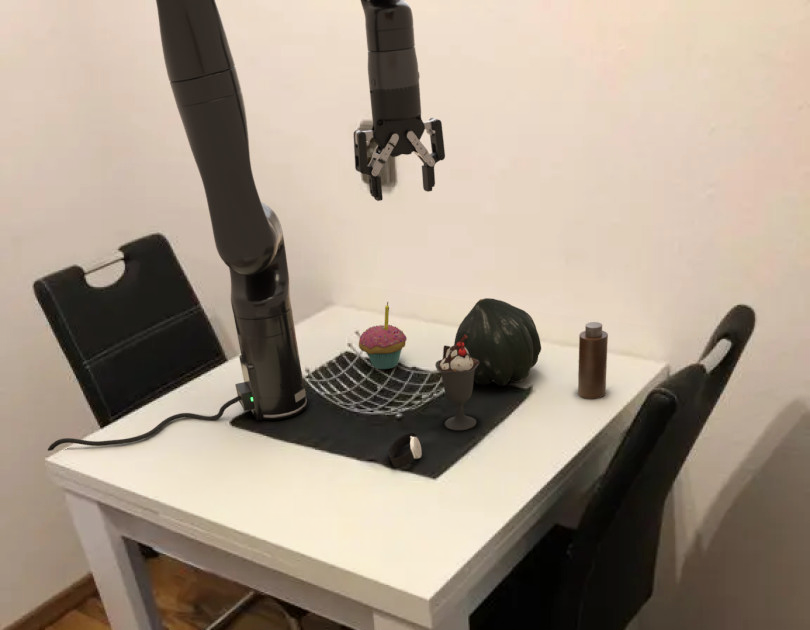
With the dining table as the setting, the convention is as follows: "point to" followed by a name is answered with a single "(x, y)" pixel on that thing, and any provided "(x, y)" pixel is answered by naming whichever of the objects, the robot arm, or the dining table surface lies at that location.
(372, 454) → the dining table surface
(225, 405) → the robot arm
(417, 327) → the dining table surface
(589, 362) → the pepper mill
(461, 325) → the squash
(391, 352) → the cupcake
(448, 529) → the dining table surface
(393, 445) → the watch
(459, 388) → the sundae
